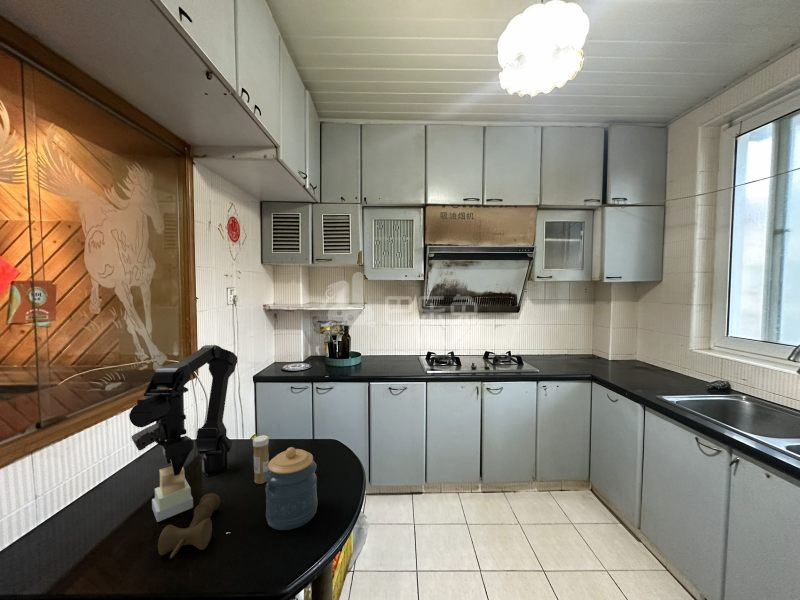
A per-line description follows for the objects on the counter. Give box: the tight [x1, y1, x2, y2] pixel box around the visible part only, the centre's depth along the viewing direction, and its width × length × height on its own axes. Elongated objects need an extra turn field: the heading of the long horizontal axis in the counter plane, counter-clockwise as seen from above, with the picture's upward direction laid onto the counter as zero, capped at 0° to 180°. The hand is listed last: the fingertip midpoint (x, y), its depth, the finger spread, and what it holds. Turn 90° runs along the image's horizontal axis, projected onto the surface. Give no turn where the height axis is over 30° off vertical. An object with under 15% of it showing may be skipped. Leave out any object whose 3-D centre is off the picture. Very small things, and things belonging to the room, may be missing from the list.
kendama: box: [157, 492, 221, 559], centre depth 78 cm, size 6×10×20 cm
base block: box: [151, 495, 194, 523], centre depth 89 cm, size 8×8×3 cm
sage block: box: [154, 478, 192, 511], centre depth 89 cm, size 7×7×3 cm
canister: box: [264, 446, 318, 531], centre depth 85 cm, size 13×13×18 cm
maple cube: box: [159, 465, 186, 496], centre depth 89 cm, size 5×5×5 cm
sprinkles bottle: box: [252, 434, 270, 485], centre depth 101 cm, size 5×5×14 cm
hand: (173, 468), depth 89 cm, fingers open, 9 cm apart
